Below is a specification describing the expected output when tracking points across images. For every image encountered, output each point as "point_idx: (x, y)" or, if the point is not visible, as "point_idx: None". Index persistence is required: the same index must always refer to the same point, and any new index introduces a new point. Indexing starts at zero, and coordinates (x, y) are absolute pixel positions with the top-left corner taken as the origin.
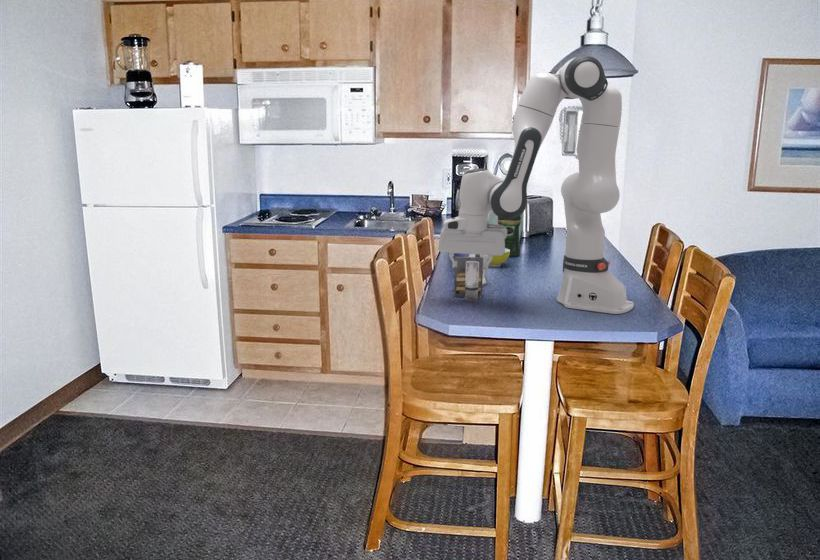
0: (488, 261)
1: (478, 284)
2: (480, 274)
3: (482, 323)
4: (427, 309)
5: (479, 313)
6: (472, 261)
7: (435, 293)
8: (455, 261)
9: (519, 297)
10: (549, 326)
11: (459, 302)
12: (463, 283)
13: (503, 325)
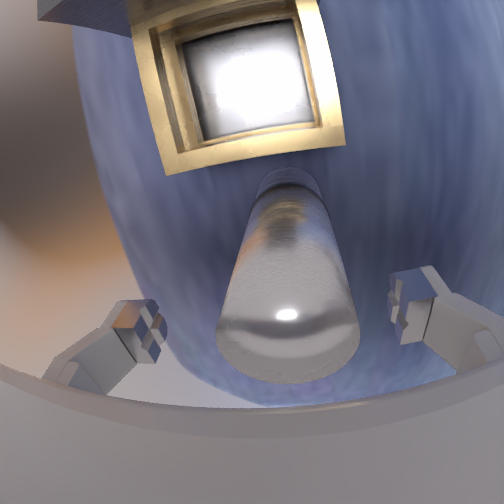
0: (444, 357)
1: (306, 56)
2: (320, 16)
3: (336, 393)
4: (171, 334)
5: None
6: (283, 321)
7: (108, 137)
8: (126, 339)
9: (483, 113)
10: None
11: None
12: (202, 33)
13: (381, 391)
